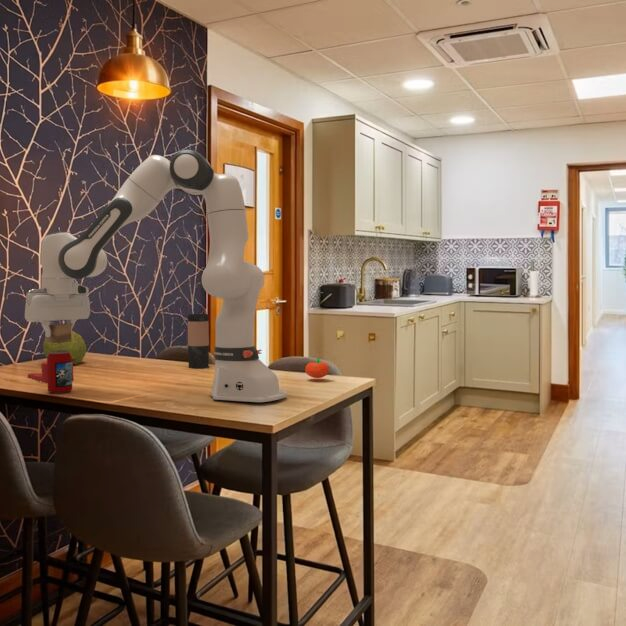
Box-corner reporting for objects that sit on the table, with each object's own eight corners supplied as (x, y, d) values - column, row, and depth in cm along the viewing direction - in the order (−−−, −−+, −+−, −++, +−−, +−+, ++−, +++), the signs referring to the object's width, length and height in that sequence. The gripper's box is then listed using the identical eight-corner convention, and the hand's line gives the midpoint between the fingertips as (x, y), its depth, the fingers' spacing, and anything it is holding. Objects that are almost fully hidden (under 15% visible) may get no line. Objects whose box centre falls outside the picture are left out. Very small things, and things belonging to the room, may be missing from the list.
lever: (79, 382, 217) (79, 361, 217) (55, 386, 209) (55, 365, 209) (42, 378, 226) (41, 358, 226) (17, 382, 218) (17, 361, 218)
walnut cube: (71, 341, 197) (71, 324, 197) (57, 342, 193) (56, 325, 192) (60, 340, 200) (59, 323, 199) (45, 342, 195) (45, 324, 195)
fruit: (76, 371, 241) (75, 329, 240) (36, 371, 241) (35, 329, 240) (91, 365, 257) (91, 326, 256) (54, 365, 257) (53, 326, 256)
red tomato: (307, 375, 229) (307, 357, 229) (330, 376, 228) (330, 357, 227) (302, 378, 222) (302, 359, 222) (326, 379, 221) (326, 359, 220)
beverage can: (64, 394, 193) (63, 352, 192) (42, 393, 194) (41, 352, 194) (77, 390, 200) (76, 350, 199) (56, 390, 201) (55, 349, 200)
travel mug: (213, 368, 249) (212, 314, 248) (199, 370, 242) (198, 315, 241) (197, 366, 253) (197, 313, 252) (183, 369, 247) (182, 314, 246)
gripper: (33, 289, 185) (34, 339, 186) (93, 288, 202) (93, 334, 203) (19, 288, 188) (20, 338, 189) (78, 287, 206) (79, 333, 206)
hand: (58, 336), depth 196 cm, fingers closed on walnut cube, 5 cm apart
